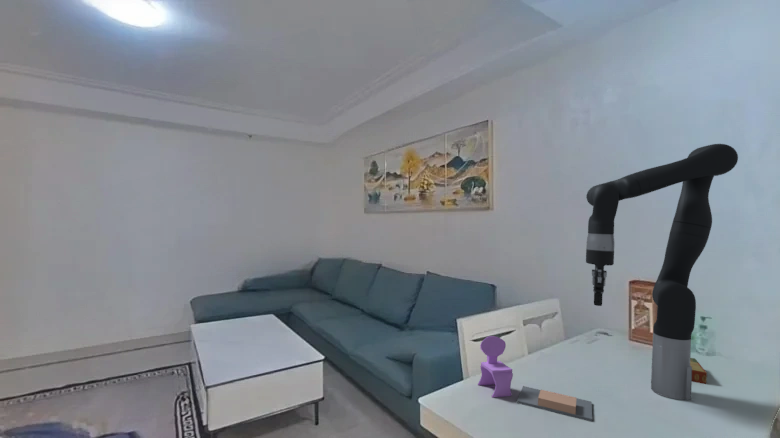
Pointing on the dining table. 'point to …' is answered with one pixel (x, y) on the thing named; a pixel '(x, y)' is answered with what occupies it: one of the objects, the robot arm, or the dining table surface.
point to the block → (557, 401)
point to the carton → (698, 372)
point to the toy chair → (495, 367)
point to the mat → (531, 399)
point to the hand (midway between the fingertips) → (597, 305)
